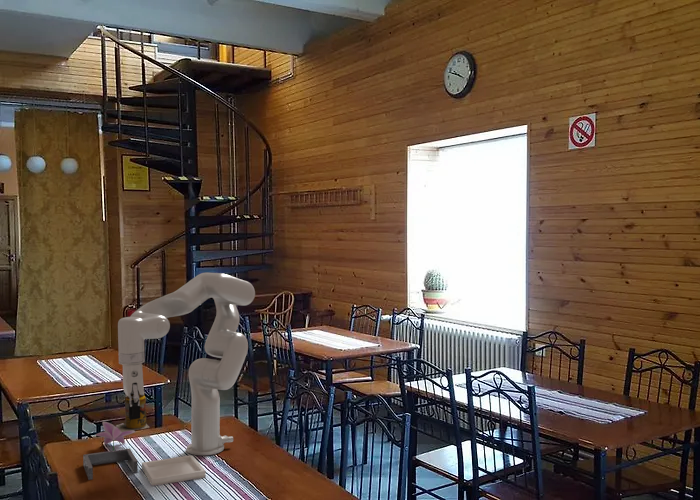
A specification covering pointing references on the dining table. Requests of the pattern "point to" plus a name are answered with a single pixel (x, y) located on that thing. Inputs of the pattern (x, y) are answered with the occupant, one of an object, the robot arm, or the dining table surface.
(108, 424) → the lily
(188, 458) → the tray
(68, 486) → the dining table surface
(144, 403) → the condiment
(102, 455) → the bracket
